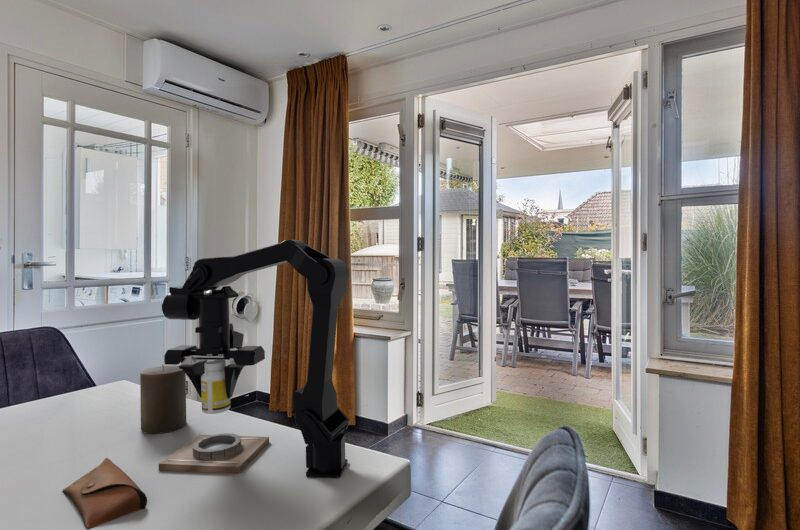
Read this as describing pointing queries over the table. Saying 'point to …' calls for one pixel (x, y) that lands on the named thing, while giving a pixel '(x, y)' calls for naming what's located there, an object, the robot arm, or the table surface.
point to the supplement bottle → (214, 388)
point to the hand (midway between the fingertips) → (216, 397)
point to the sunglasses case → (105, 494)
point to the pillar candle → (162, 399)
